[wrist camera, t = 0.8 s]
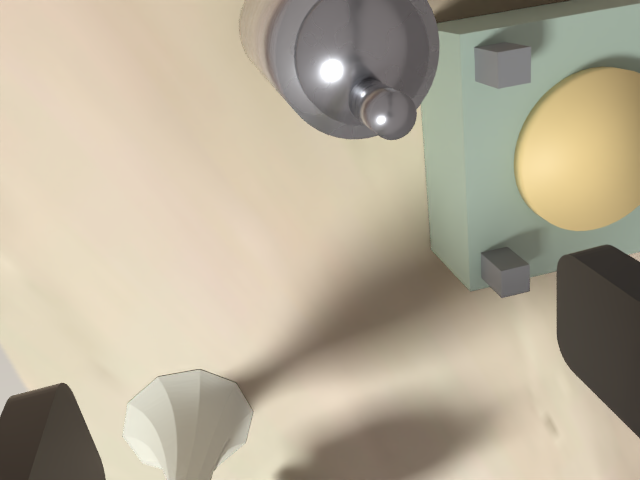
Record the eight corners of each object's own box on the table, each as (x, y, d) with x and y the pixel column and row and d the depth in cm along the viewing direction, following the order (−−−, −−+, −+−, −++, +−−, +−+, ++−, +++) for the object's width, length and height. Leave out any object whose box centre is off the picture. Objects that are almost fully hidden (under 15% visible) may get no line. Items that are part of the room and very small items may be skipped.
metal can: (229, -20, 31) (276, -25, 16) (334, -36, 32) (479, -56, 16) (249, 89, 33) (307, 180, 18) (347, 72, 34) (484, 144, 19)
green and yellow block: (415, 26, 34) (511, 43, 24) (639, -12, 36) (815, -11, 26) (431, 249, 40) (513, 337, 30) (623, 206, 41) (761, 276, 32)
